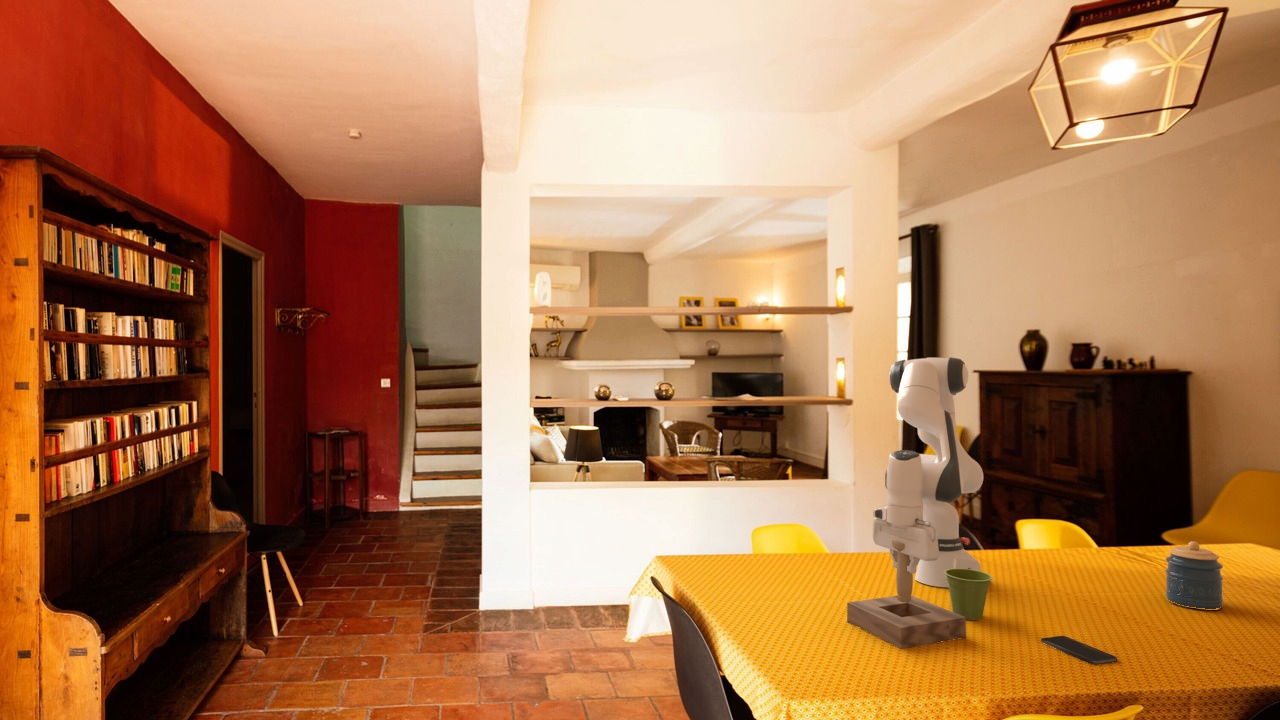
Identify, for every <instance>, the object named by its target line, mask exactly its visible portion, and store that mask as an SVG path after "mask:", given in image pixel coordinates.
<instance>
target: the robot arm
mask: <svg viewBox="0 0 1280 720" xmlns="http://www.w3.org/2000/svg"><path fill="white" fill-rule="evenodd" d="M888 380H889V381H888V382H889V384H890V387H891V389H892V391H894V392H895V393H897V394H898V395H897V411H898V413H899V415H900V417H901V418H902V419H903V420H904V421H905V422H906V423H907V424H909V425H910V426H912V427H914V428H916V429H917V435H918V438H919V439H920V440H921V442H923V443H924V444H926V445H928V446H929V447H930V448H931V449H932V450H933V452H934V453H935V454H924V453H918V452H916V451H913V450H908V449H904V450H903V449H900V450H896V451H893V452H891V453H890V454H889V457H888V461H887V469H885V473H884V475H885V477H884V478H885V479H884V481H885V483H884V484H885V485H884V487H885V488H886V490H887V498H886V506H884V507H879V508H875V509H873V510H872V516H873V518H874V519H873V521H872V539H873V542H874V544H875V545H877V546H879V547H883V548H886V549H888V550H889V554H890V557H891V559H892V566H893V568H894V569H897V558H898V550H897V549H895V548H894V547H893V546H892V540H894V541H897V542H900V543H903V544H905V548H904V550H902V551H900V552H901V553H903V554H906V555H909V559H910V560H911V562H910V564H909V565H907V572H908V573H911V574H915V576H914V579H915V581H917V582H919V583H921V584H924V585H927V586H931V587H938V588H949V584H948V582H947V576H946V574H945V573H944V571H945V570H947V569H953V568H962V569H972V570H977V571H981V570H982V569H981V564H980V562H979V560H978V559H977V558H975V557H974V556H973V555H972V554H970V553H969V552H968V551H967V550H965V549H964V545H967V546H968V545H969V544H970V542H971V540H970V539H969V538H968V537H960V535H959V531H960V530H959V527H960V526H959V524H960V523H959V521H960V520H959V519H960V515H959V513H958V510H957V509H956V508H955V507H954V506H953V505H952V504H951V503H954V502H955V501H956V500H958V499H960V497H962V496H963V494H970V493H971V494H972V493H973V494H975V493H976V492H977V491H978V490H979V489H980V488H981V487H982V485H983V481H984V472H983V469H982V467H981V465H980V464H979V462H977V461H976V460H975V459H974V458H972V457H971V456H970V455H969V454H968V453H967V451H966V450H965V448H964V447H963V445H962V444H961V441H960V439H959V436H958V432H957V431H958V430H957V422H956V412H955V411H956V410H955V404H954V403H955V402H954V396H956V395H957V394H959V393H961V392H962V391H964V390H965V388H966V387H967V384H968V381H969V370H968V368H967V366H966V364H965V362H964V361H963V360H962V358H957V357H948V358H946V357H926V358H914V359H908V360H906V359H900V360H897V361H895V362H894V363H893V364H892V365H891V366H890V370H889V374H888ZM963 544H964V545H963Z"/></svg>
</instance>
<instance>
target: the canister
mask: <svg viewBox="0 0 1280 720" xmlns="http://www.w3.org/2000/svg"><path fill="white" fill-rule="evenodd" d="M1169 554H1170V555H1169V556H1167V557H1165V561H1166V562H1167V567H1166V569H1165V573H1166V574H1165V575H1166V579H1165V580H1166V581H1165V582H1166V583H1165V584H1166V588H1165V589H1166V590H1165V596H1166V600H1167V599H1168V600H1170V601H1172V602H1175V603H1177V604H1180V605H1184V606H1189V607H1196V608H1205V609H1216V608H1220V607H1222V608H1223V605H1224V599H1223V581H1224V577H1223V576H1222V573H1221V571H1222V569H1223V568H1224V566H1223V564H1222V563H1220V562H1219V561H1218V560H1219V558H1220V556H1219V555H1217V554H1216V553H1214V552H1213V551H1212V550H1210V549H1207V548H1202V547H1200V544H1199V543H1198V542H1197V541H1192V540H1191V541H1189V542H1188V544H1187V546H1184V545H1179V546H1175V547H1174V548H1171V549H1170V550H1169ZM1168 600H1167V601H1168Z"/></svg>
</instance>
